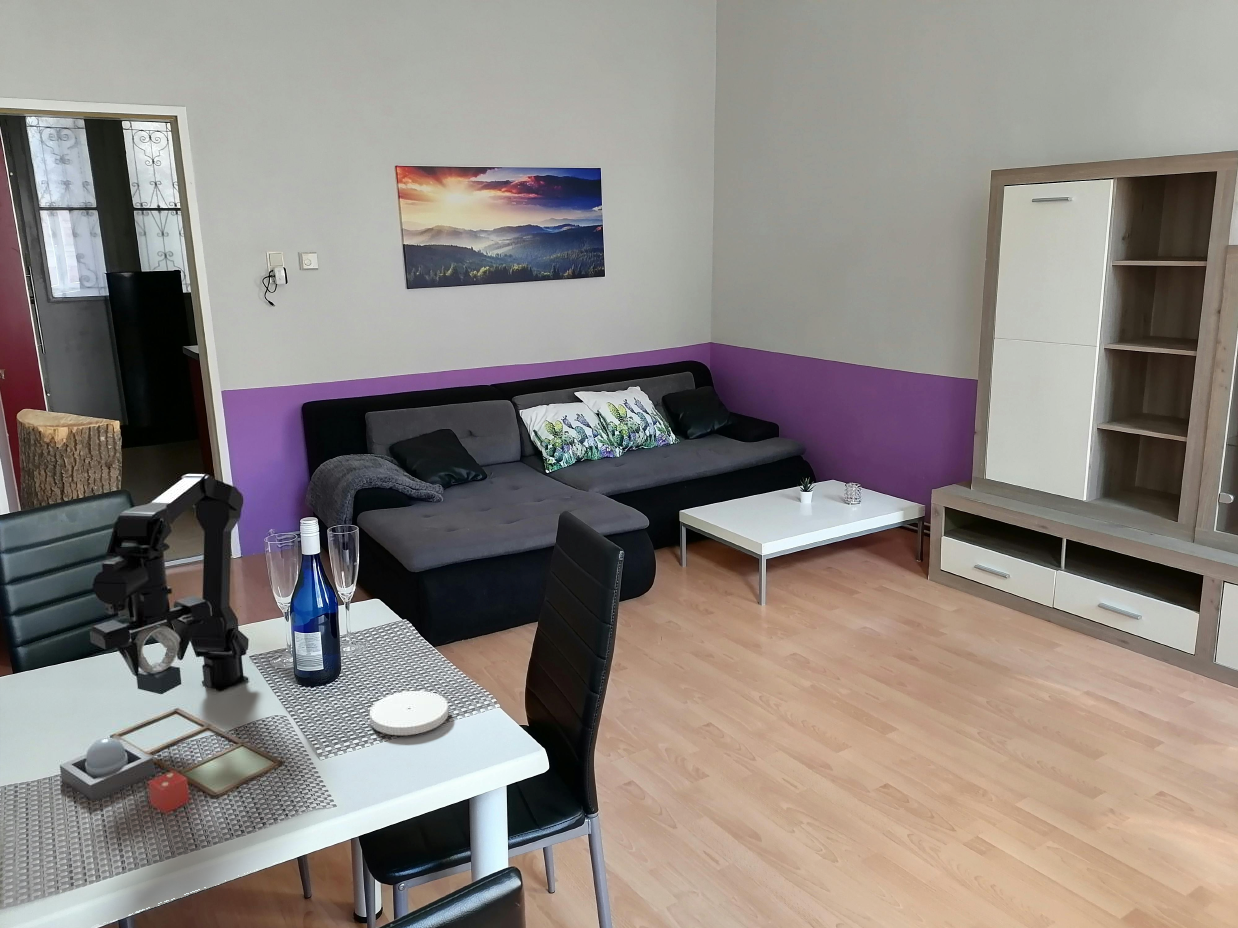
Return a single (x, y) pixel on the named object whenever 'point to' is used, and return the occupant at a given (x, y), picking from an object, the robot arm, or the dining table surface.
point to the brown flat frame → (214, 759)
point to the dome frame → (111, 782)
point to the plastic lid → (408, 713)
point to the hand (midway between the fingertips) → (158, 667)
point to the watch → (158, 674)
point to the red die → (169, 791)
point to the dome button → (105, 757)
